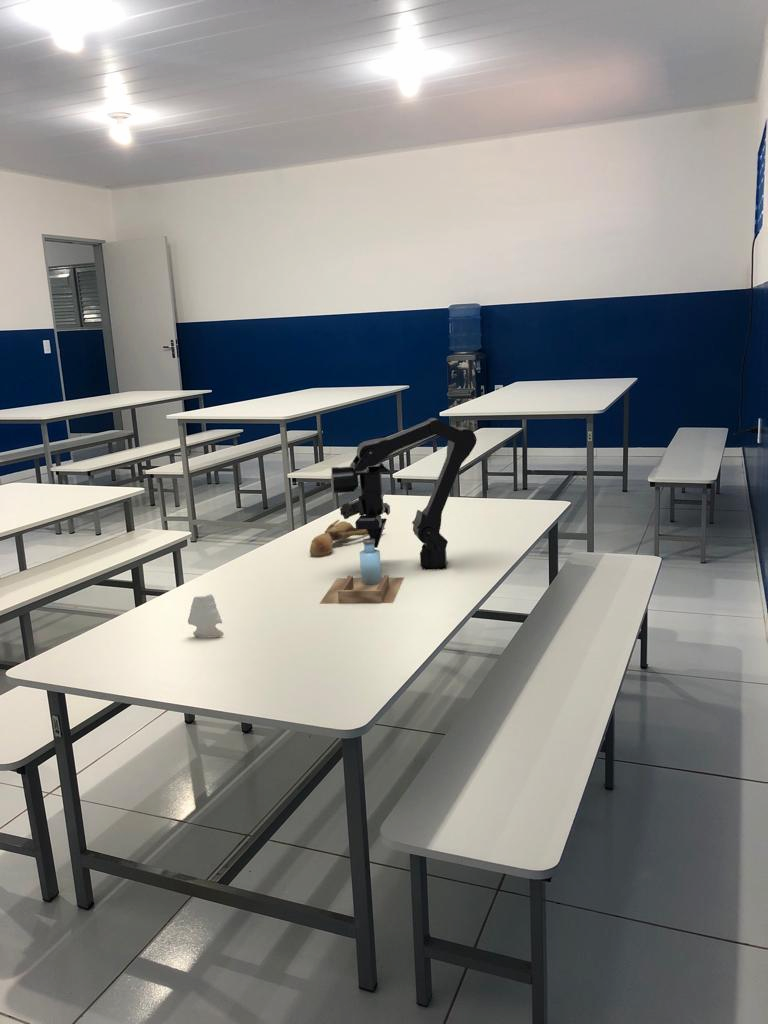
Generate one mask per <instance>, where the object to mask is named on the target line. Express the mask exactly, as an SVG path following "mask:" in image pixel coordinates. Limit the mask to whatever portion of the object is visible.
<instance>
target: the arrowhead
mask: <svg viewBox="0 0 768 1024" xmlns="http://www.w3.org/2000/svg"><path fill="white" fill-rule="evenodd" d="M190 607H191V608H190V612H189V616H188V618H187V624H188V625H192V626H194V627H196V629H195V630H194V631H193V633H192V635H193V636H194V637H197V638H198V637H205V638H208V637H214V638H220V637H223V636H224V632H223V631H222V630H221V629H219V628H217V626H216V625H217V624H223V620H222V618H221V615H220V612H219V610H218V608H217V603H216V601H215V597H214V595H213V594H212V593H208V594H205V595H200V596H199V595H198V596H194V597H193V599H192V603H191V606H190Z"/></svg>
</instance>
